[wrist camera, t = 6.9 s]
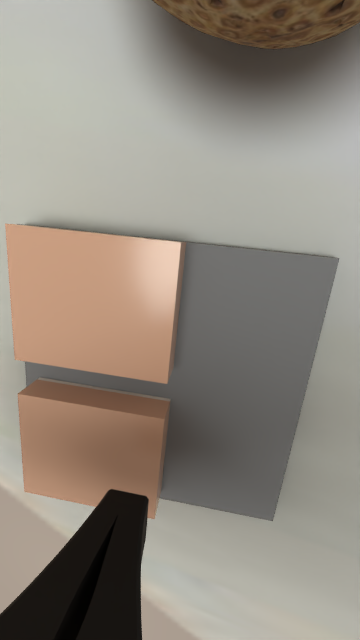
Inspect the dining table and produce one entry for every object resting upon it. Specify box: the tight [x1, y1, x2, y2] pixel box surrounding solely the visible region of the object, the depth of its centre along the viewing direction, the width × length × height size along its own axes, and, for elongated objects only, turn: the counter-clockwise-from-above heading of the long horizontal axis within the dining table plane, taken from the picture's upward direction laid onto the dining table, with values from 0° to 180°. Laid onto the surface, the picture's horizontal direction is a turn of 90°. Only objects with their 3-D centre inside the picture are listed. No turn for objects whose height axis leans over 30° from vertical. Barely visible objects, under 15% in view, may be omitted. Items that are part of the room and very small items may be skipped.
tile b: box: [18, 377, 171, 519], centre depth 12 cm, size 2×5×6 cm
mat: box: [17, 224, 339, 521], centre depth 12 cm, size 12×12×1 cm
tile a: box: [5, 224, 186, 384], centre depth 11 cm, size 2×5×6 cm
